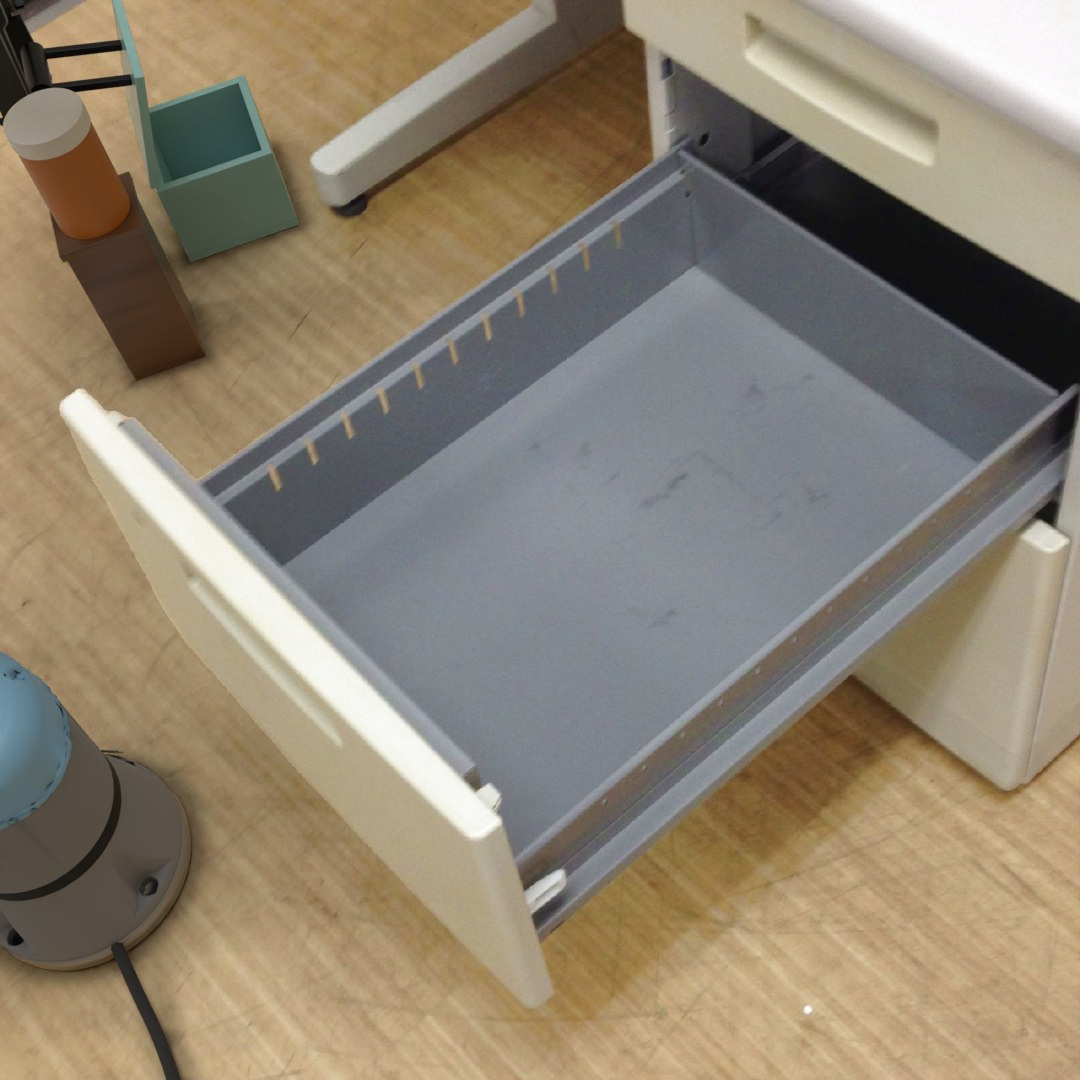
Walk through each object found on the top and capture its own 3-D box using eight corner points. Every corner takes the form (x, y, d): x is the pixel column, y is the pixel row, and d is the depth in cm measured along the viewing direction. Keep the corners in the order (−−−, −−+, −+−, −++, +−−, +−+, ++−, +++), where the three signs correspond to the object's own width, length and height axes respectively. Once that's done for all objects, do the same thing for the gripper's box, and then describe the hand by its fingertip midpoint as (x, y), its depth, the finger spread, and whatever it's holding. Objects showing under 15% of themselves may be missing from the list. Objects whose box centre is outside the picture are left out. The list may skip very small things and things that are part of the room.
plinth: (209, 357, 133) (143, 226, 120) (133, 384, 132) (58, 256, 119) (194, 303, 137) (128, 170, 124) (120, 329, 136) (46, 199, 123)
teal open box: (272, 147, 147) (244, 74, 140) (299, 224, 140) (272, 152, 133) (167, 183, 146) (134, 112, 139) (190, 262, 140) (157, 192, 132)
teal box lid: (120, -4, 130) (10, 8, 127) (144, 76, 123) (28, 90, 121) (137, 107, 139) (34, 120, 136) (159, 188, 132) (52, 203, 130)
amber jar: (138, 224, 120) (88, 127, 112) (63, 251, 119) (7, 154, 111) (125, 175, 123) (76, 77, 115) (52, 200, 123) (-3, 104, 115)
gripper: (-7, -27, 106) (111, 200, 124) (-42, -196, 120) (68, 31, 137) (-110, 8, 106) (23, 230, 123) (-134, -166, 119) (-12, 58, 137)
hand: (47, 125), depth 131 cm, fingers open, 12 cm apart
